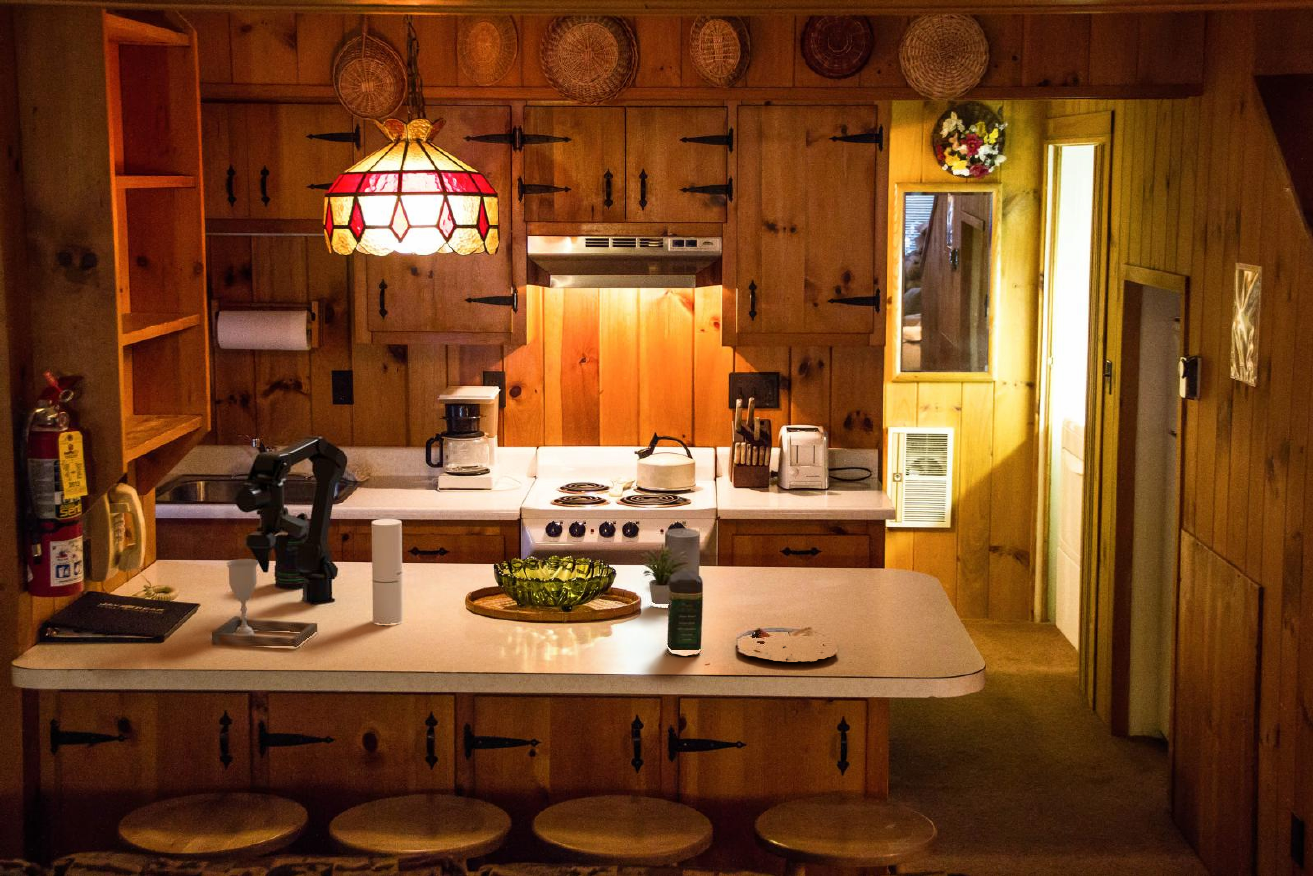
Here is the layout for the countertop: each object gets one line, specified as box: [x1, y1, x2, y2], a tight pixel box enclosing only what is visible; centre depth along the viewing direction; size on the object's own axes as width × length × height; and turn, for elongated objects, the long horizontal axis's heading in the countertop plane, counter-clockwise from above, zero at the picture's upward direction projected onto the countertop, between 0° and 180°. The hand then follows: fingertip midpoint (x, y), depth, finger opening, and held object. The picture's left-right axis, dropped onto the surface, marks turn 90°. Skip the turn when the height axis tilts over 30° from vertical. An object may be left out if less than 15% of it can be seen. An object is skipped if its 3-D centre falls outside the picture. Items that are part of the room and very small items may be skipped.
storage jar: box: [273, 527, 309, 591], centre depth 388 cm, size 10×10×15 cm
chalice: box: [225, 558, 259, 635], centre depth 341 cm, size 7×7×18 cm
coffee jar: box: [666, 571, 704, 650], centre depth 337 cm, size 10×8×19 cm
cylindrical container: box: [371, 518, 404, 624], centre depth 355 cm, size 7×7×25 cm
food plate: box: [735, 626, 838, 653], centre depth 340 cm, size 25×23×4 cm
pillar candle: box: [664, 527, 701, 577], centre depth 400 cm, size 10×10×15 cm
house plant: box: [640, 543, 691, 604], centre depth 374 cm, size 14×14×16 cm
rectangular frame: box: [211, 615, 318, 647], centre depth 341 cm, size 20×13×3 cm, turn 82°
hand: (273, 567), depth 355 cm, fingers open, 9 cm apart
